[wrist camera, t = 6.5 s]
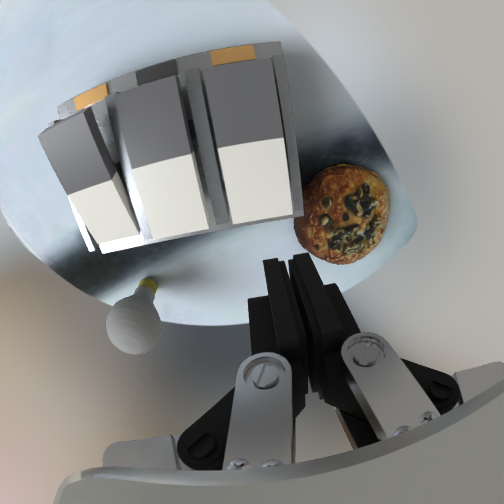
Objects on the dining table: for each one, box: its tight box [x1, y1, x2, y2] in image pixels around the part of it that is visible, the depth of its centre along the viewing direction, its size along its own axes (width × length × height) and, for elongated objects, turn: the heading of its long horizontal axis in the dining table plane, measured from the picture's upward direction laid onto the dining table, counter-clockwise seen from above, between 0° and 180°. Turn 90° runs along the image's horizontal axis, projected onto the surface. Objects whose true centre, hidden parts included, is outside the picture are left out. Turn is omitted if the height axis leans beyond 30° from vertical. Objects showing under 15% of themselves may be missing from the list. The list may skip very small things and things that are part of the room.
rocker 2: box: [114, 75, 210, 240], centre depth 16 cm, size 10×4×1 cm, turn 9°
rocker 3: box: [203, 58, 293, 224], centre depth 16 cm, size 10×4×1 cm, turn 9°
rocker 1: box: [38, 106, 141, 244], centre depth 16 cm, size 10×4×1 cm, turn 9°
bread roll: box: [294, 164, 390, 265], centre depth 26 cm, size 11×11×5 cm
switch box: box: [48, 42, 304, 253], centre depth 20 cm, size 14×18×8 cm
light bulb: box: [106, 278, 161, 354], centre depth 26 cm, size 6×6×10 cm
